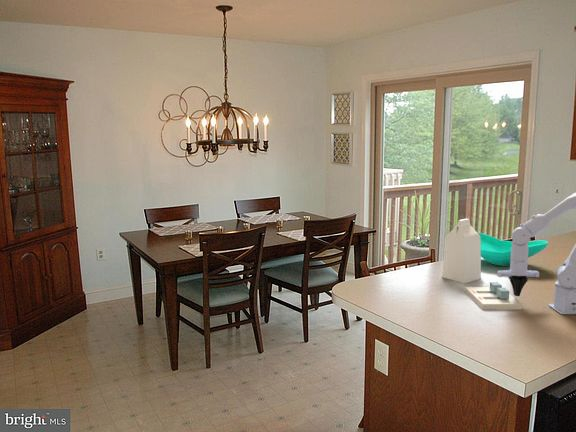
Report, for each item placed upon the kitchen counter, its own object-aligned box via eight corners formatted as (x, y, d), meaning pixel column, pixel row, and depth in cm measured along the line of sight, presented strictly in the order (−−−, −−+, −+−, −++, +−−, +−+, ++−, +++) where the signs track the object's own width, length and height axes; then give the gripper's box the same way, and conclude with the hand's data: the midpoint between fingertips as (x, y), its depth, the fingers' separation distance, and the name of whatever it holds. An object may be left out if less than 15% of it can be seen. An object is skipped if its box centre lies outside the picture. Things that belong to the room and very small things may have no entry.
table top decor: (449, 263, 240) (450, 236, 238) (471, 252, 260) (472, 228, 258) (536, 278, 213) (538, 248, 211) (553, 265, 234) (555, 238, 232)
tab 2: (508, 298, 180) (509, 291, 180) (500, 298, 180) (501, 291, 180) (504, 295, 184) (504, 287, 184) (496, 295, 184) (496, 287, 184)
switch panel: (522, 309, 176) (522, 303, 176) (482, 309, 176) (483, 303, 176) (500, 291, 196) (500, 286, 195) (464, 291, 196) (464, 286, 196)
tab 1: (501, 292, 187) (501, 285, 187) (493, 292, 187) (493, 285, 187) (497, 289, 191) (497, 282, 191) (489, 289, 191) (489, 282, 191)
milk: (464, 283, 208) (467, 223, 203) (441, 277, 217) (444, 219, 213) (480, 278, 215) (484, 219, 210) (458, 272, 224) (460, 216, 220)
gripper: (534, 257, 184) (531, 291, 186) (494, 257, 184) (492, 291, 186) (543, 262, 177) (540, 298, 179) (502, 262, 177) (500, 298, 179)
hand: (516, 295), depth 182 cm, fingers closed
